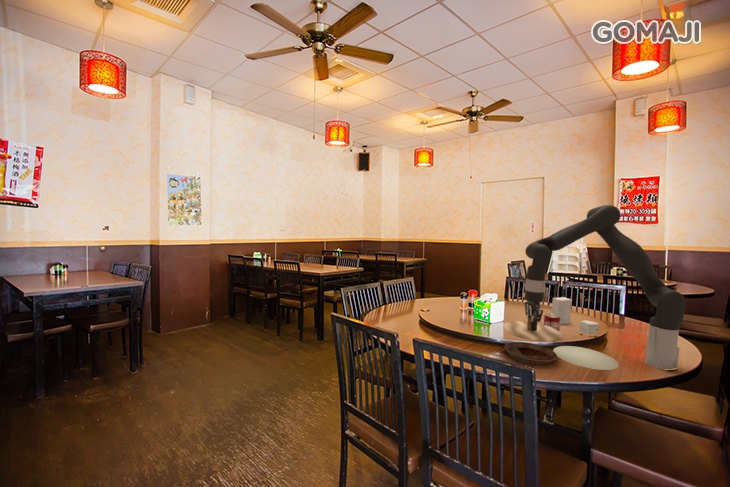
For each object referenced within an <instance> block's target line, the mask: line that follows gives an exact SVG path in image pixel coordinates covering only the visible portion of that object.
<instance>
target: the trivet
mask: <svg viewBox="0 0 730 487" xmlns="http://www.w3.org/2000/svg"><path fill="white" fill-rule="evenodd" d="M552 351H553V352H555V353H556V355H557V357H558V358H559V359H561V360H563V361H565V362H567V363H569V364H572V365H575V366H578V367H582V368H587V369H591V370H592V369H593V370H600V371H609V370H610V371H611V370H615V369H617V368H618V367H619V363H618V361H617V360H616V359H614V358H613V357H611V356H610V355H607V354H605V353H602V352H600V351H598V350H594V349H590V348H586V347H582V346H581V347H580V346H572V345H560V346H556V347H554V348H553V350H552Z"/></svg>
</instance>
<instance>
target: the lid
mask: <svg viewBox="0 0 730 487" xmlns="http://www.w3.org/2000/svg"><path fill="white" fill-rule="evenodd" d="M531 321H532V320H531V317H529V318H527V321H522V320H516V321H515V320H513V321H507V322H505V323H504V324H503V326H502V329H503V330H504V331H505V332H506V333H508V334H509V335H512V336H514V337H517V338H520V339H524V340H529V341H535V342H545V343H547V342H549V343H550V342H557V341H560V340H561V339H562V338H563V333H562V332H561V331H558V330H556V329H554V328H552V327H549V326H546V325H544V323H543V324H541V323H539V322H537V330H532V329H531ZM527 322H528V326H527Z"/></svg>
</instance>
